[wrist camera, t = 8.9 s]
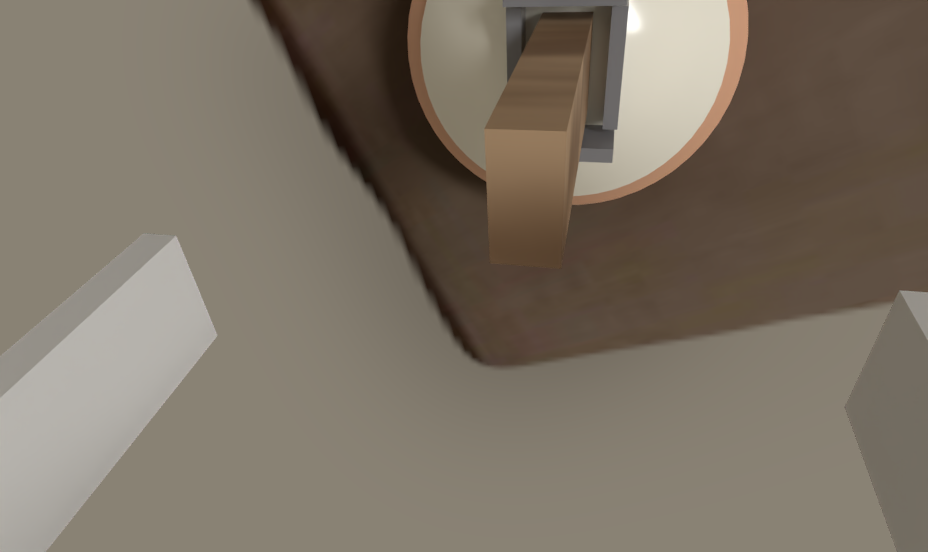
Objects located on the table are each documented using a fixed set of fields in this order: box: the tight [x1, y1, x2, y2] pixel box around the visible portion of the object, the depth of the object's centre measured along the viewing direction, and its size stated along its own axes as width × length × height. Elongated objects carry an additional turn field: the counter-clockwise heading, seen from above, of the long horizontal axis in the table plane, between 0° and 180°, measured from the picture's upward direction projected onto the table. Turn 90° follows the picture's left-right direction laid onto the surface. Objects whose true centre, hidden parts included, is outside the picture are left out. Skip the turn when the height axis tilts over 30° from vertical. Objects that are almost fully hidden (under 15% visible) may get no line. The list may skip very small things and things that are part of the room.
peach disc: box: [407, 0, 748, 205], centre depth 25 cm, size 14×14×6 cm
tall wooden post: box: [484, 12, 594, 269], centre depth 20 cm, size 4×2×12 cm, turn 4°
